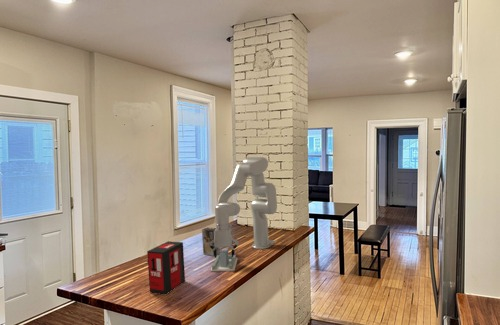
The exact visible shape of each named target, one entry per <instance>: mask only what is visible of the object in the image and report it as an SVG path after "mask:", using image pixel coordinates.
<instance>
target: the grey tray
mask: <svg viewBox="0 0 500 325" xmlns="http://www.w3.org/2000/svg"><path fill="white" fill-rule="evenodd" d="M238 259H239V258H238V257H236V254H235V255H234V256H233V257H232V254H229V261H228V264H227V266H226V267H220V254H218V255H217V257H216V258H214V261H213V263H212V265H211V268H210V272H235V270H236V266H237V263H238Z"/></svg>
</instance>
